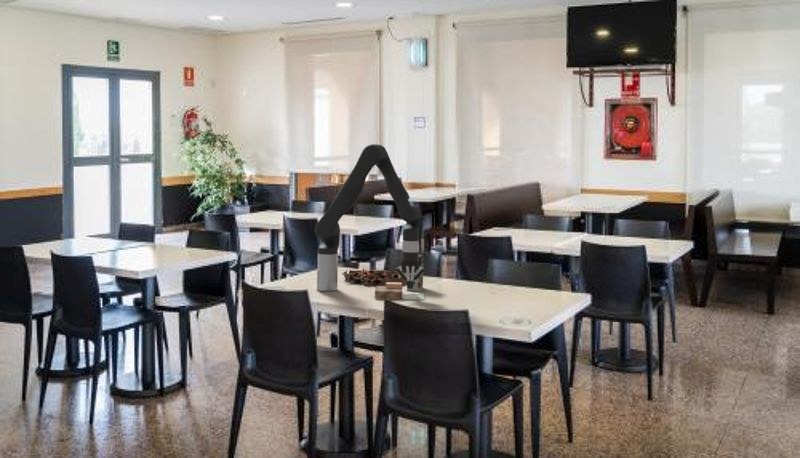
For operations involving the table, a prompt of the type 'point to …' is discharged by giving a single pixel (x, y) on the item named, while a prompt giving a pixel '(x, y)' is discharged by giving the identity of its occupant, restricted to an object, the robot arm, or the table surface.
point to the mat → (420, 297)
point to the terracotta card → (393, 285)
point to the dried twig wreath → (373, 277)
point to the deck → (388, 292)
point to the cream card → (409, 295)
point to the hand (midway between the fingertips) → (410, 288)
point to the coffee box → (419, 282)
